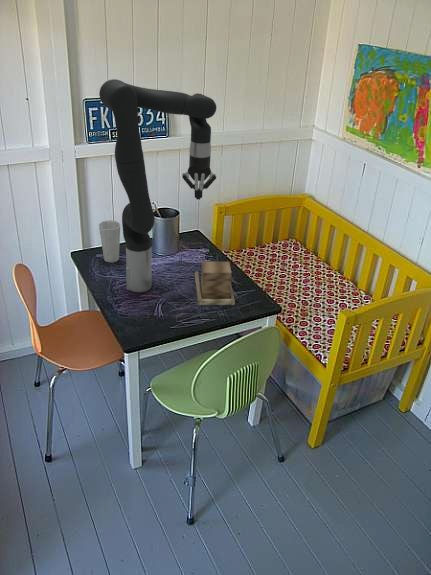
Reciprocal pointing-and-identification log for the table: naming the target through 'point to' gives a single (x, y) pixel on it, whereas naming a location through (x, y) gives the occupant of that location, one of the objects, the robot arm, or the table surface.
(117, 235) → the cup
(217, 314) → the table surface
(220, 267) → the brown wooden block
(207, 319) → the table surface
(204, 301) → the tray
